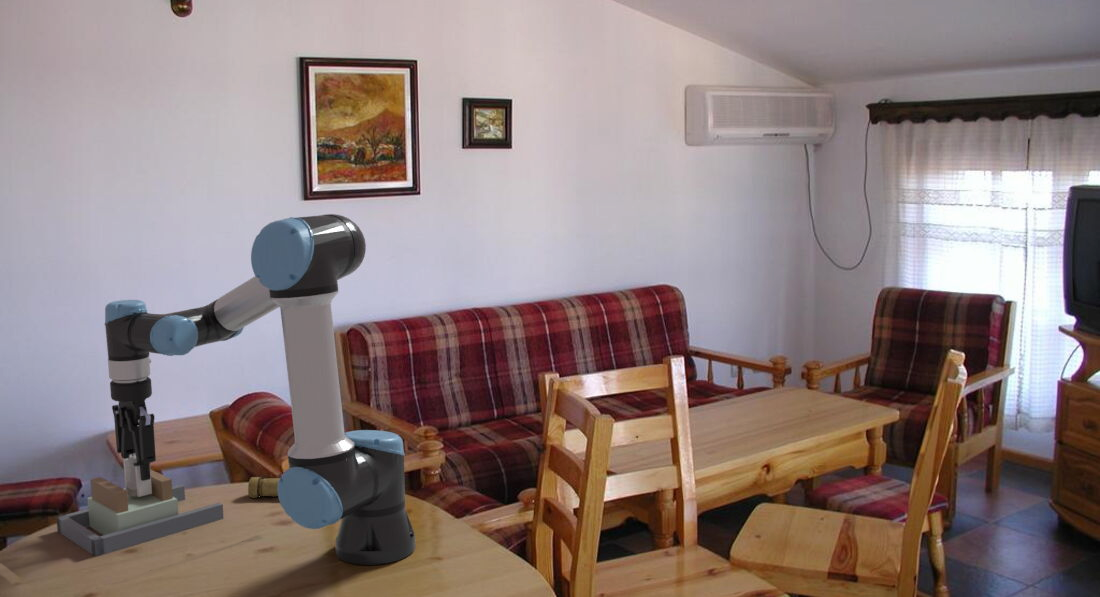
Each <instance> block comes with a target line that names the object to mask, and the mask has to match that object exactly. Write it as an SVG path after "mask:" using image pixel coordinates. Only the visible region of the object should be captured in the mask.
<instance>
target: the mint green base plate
mask: <svg viewBox="0 0 1100 597" xmlns="http://www.w3.org/2000/svg"><path fill="white" fill-rule="evenodd" d="M150 472H151V486H152V494H148V495H145V496H141V497H138V496H129V495H128V494H127V491H126V490H125V487H124V488H122V487H120V486H119V485H118V484H115V483H113V482H111V481H109V480H108V479H106V478H104V477H101V476H99V477H98V476H97V477H95V478H89V479H90V480H89V481H90V490H91V496H90V497H87V498H86V500H87V509H88V513H89V526H88V527H90V528H92V529H93V530H95V531H96V532H98V533H99V534H101V535H102V536H103V535H107V534H110V533H114V532H117V531H121V530H124V529H128V528H131V527H135V526H138V525H142V524H145V523H149V522H152V521H156V520H160V519H163V518H167V517H170V516H174V515H177V514H179V501H178V500H177V499H176V498H174V497H173V496H172V487H173V484H172V483H173V482H172V478H169V477H168V476H166V475H163V474H162V473H159V472H156V471H155V470H153V469H151V468H150Z"/></svg>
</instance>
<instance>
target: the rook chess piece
mask: <svg viewBox="0 0 1100 597" xmlns="http://www.w3.org/2000/svg"><path fill="white" fill-rule="evenodd" d="M127 461H128V462H129V463H130V467H129V468H130V481H129V482H128V483H129V484H128V485H127V489H128V491H127V494H128V495H129V496H137V487H136V474H135V466H134V464H133V463H137V459H136V455H135V453H133V456H132V454H130V455H129V459H128V460H127Z"/></svg>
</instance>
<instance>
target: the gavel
mask: <svg viewBox="0 0 1100 597" xmlns="http://www.w3.org/2000/svg"><path fill="white" fill-rule="evenodd" d="M281 476H282V471H281V472H280V473H279V474H278V475H276V477H275V478H273V477H272V478H262V477H261V476H252V477H250V479H249V481H248V487H247V494H248V496H249V497H259V496H260V497H264V496H278V490H277V488H278V482H279V479H280V478H281ZM260 497H259V498H260Z"/></svg>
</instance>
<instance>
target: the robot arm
mask: <svg viewBox="0 0 1100 597" xmlns="http://www.w3.org/2000/svg"><path fill="white" fill-rule="evenodd" d="M364 236H365V235H364V234H363V232H362V230H361V228H360V227H359V226H358V225H357V224H356V223H355V222H354V221H353V220H351V219H350V218H348V217H346V216H343V215H340V214H335V213H334V214H333V213H330V214H321V215H312V216H311V215H310V216H309V215H308V216H300V217H293V216H292V217H287V218H283V219H279V220H274V221H272V222H270V223H268V224H267V225H265V226H264V227H262V229H261V230H260V231H259V233H258V234H257V235H256V236H255V238H254V240H253V243H252V246H251V250H250V251H251V253H250V262H251V264H250V265H251V268H252V272H253V275H254V276H253V277H251V278H250V279H248V280H247V281H245V282H243V283H241V284H240V285H238V286H236V287H235V288H233V289H231V290H230V291H228V292H227V293H225V294H224V295H222V296H220V297H219V298H217V299H215V300H213V301H212V302H210V303H209V304H207V305H204V306H201V307H196V308H190V309H189V308H188V309H186V310H181V311H174V312H170V313H169V312H168V313H163V314H162V313H149V312H148V310H147V306H146V303H145V302H144V301H143V300H139V299H123V300H121V299H120V300H114V301H112V302H109V303H107V304H106V305H105V307H104V326H105V327H104V328H105V338H106V348H107V349H106V350H107V365H108V367H107V368H108V378H109V379H110V380H111V381H110V382H109V390H110V398H111V399H112V400H113V401H115V402H118V404H113V405H112V406H111V410H112V413H113V420H114V431H115V443H116V444H115V445H116V453H117V454H120V457H121V458H122V459H123V460H122V462H123V472H124V473H123V475H124V477H123V478H124V488H125V490H126V491H128V489H127V485H128V484H129V483H128V482H129V481H130V468H129V467H130V463H129V462H128V461H127V460H128V459H129V455H130V454H132V456H133V453H135V455H136V459H137V463H133V464H134V466H135V474H136V487H137V496H138V497H141V496H145V495H148V494H152V486H151V472H150V469H151V463H155V462H156V459H157V458H156V445H155V444H156V443H155V441H156V440H155V426H154V425H155V415H154V413H150V414H149V413H148V410H147V405H146V400H147V399H149V398H151V397H152V395H153V391H152V389H153V388H152V379H151V378H150V377H149V376H150V375H151V366H150V364H151V363H152V359H151V358H150V353H152V354H159V355H164V356H167V357H168V356H169V357H172V356H185V355H187V354H189V353H190V352H191V351H192V350H193V349H194V348H198V347H200V346H205V345H208V344H213V343H218V342H225V341H229V340H231V339H233V338H236V337H237V336H239V335H241V334H242V333H243V330H244V329H245V327H247V326H249V325H250V324H252V323H254V322H255V321H257V320H259V319H261V318H263V317H264V316H266V315H268V314H269V313H271V312H273V311H274V310H277V309H280V316H281V324H282V325H281V326H282V327H281V328H282V334H283V335H282V336H283V343H284V354H285V361H286V371H287V380H288V388H289V397H290V405H291V406H290V407H291V413H292V414H291V416H292V424H293V432H294V433H293V434H294V443H293V444H292V445H291V447H289V448H288V451H287V461H288V465H289V469H288V470H286V471H285V472H284V473H283V474H282V476H281V478H280V479H279V482H278V488H277V490H278V500H279V503H280V505H281V508H282V509H283V511H284V512H285V514H286V515H287V516H288V517H290V518H291V520H292V522H294V523H295V524H297V525H299V526H300V527H303V528H305V529H311V530H317V529H323V528H324V527H327V526H330V525H334V524H336V523H338V522H339V520H340V525H339V529H338V533H337V536H336V538H335V544H334V545H335V555H336V557H337V558H338V559H340V560H342V561H344V562H346V563H350V564H354V565H360V566H362V565H363V566H365V565H366V566H372V565H384V564H389V563H393V562H396V561H397V562H398V561H401V560H403V559H405V558H407V557H408V556H410V555H411V554H412V553H414V551H415V550H416V534H415V531H414V528H413V526H412V522H411V520H410V517H409V515H408V512H407V508H406V488H405V487H406V484H405V455H406V453H405V452H404V441H403V439H402V437H401V436H400V435H398V434H397V433H394V432H391V431H384V430H374V429H360V430H358V429H357V430H352V431H346V432H345V426H344V424H345V423H344V416H343V407H342V406H343V405H342V398H341V388H340V387H341V386H340V379H339V378H340V377H339V370H338V367H339V366H338V359H337V349H336V340H335V332H334V323H333V322H334V321H333V312H332V302H333V299H334V298H335V297H336V296H337V295H338V294H339V285H338V280H341V279H343V278H344V277H346V276H350V275H351V274H352V273H354V272H355V271H356V270H358V268H360V267H361V264H363V261H364V258H365V256H366V247H367V244H366V239H365V237H364Z"/></svg>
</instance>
